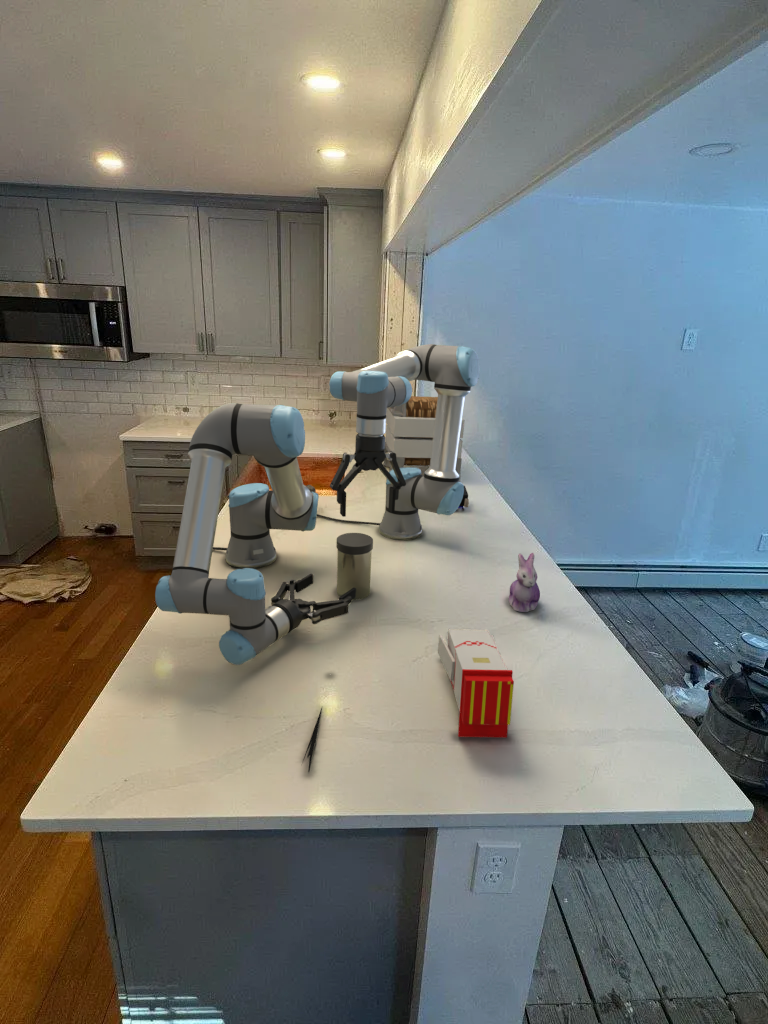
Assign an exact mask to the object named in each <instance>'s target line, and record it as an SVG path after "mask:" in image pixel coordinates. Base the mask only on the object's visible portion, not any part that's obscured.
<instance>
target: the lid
mask: <svg viewBox="0 0 768 1024" xmlns="http://www.w3.org/2000/svg"><path fill="white" fill-rule="evenodd" d="M335 547H336V549H338V550H339V551H341V552H343V553H346V554H364V553H368V552H370V551H371V550H373V548H374V538H373V537H372V536H371V535H369V534H366V533H362V532H346V533H343V534H340V535H338V536H337V537H336V546H335Z"/></svg>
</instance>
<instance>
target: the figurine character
mask: <svg viewBox="0 0 768 1024" xmlns="http://www.w3.org/2000/svg"><path fill="white" fill-rule="evenodd" d="M469 505H470V500H469V492H468V490H467V488H466V485H464V494H463V498H462V501H461V503H460V505H459V507H458V509H461V511H462V512H464V511H465V508H469ZM458 509H457V510H456V511H455V512H457V511H458Z"/></svg>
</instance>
